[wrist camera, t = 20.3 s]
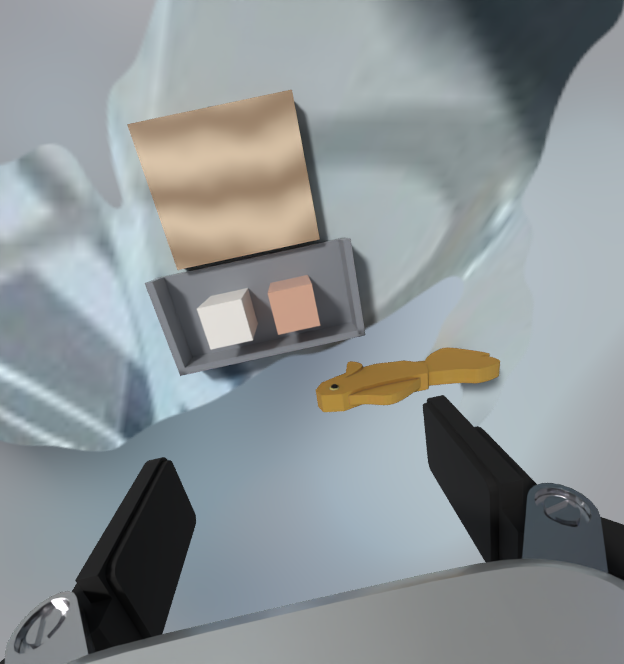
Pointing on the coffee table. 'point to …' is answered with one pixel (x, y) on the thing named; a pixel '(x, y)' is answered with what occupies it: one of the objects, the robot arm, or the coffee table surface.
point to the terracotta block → (293, 304)
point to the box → (260, 304)
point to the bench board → (228, 179)
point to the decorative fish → (404, 378)
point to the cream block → (228, 318)
